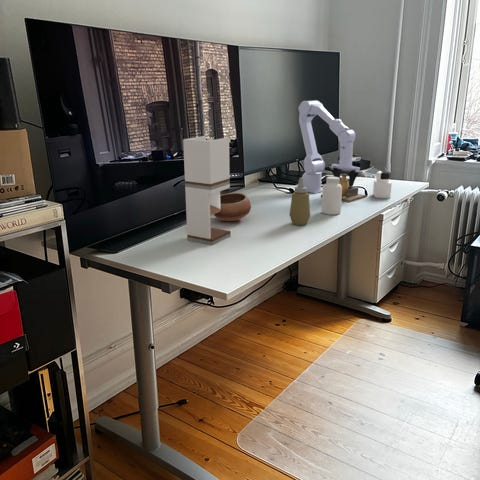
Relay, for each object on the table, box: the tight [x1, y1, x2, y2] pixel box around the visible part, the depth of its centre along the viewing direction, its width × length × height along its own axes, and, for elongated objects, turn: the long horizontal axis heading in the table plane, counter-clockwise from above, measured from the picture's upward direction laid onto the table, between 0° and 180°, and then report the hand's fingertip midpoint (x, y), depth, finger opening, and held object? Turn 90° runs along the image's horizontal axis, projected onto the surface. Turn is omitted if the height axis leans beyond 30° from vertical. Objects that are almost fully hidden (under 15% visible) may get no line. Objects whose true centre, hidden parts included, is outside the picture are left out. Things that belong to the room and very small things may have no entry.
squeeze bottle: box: [289, 177, 311, 226], centre depth 187 cm, size 8×8×18 cm
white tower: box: [182, 135, 231, 246], centre depth 168 cm, size 11×11×35 cm
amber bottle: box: [339, 173, 349, 196], centre depth 230 cm, size 5×5×10 cm
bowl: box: [212, 192, 252, 222], centre depth 194 cm, size 16×16×10 cm
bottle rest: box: [320, 186, 367, 203], centre depth 232 cm, size 16×14×4 cm
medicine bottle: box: [372, 170, 392, 199], centre depth 232 cm, size 7×7×12 cm
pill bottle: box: [321, 176, 342, 216], centre depth 203 cm, size 8×8×15 cm
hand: (344, 185), depth 231 cm, fingers open, 7 cm apart
